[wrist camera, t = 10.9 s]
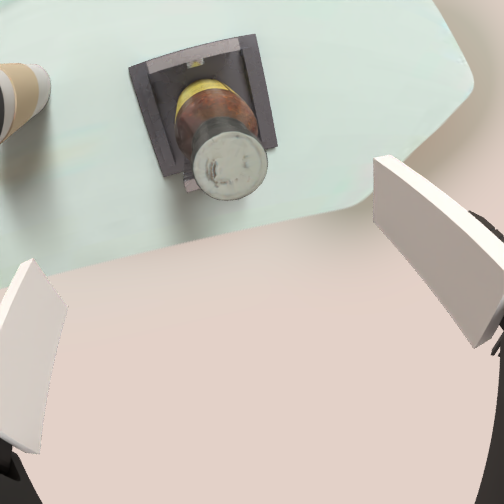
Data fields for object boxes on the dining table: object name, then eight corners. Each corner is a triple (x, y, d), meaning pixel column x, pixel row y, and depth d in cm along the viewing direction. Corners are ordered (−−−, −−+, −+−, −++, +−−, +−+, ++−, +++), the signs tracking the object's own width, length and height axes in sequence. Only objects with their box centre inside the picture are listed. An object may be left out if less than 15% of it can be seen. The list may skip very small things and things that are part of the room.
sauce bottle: (168, 117, 31) (139, 193, 15) (194, 68, 28) (191, 84, 13) (220, 140, 34) (246, 234, 18) (247, 93, 31) (305, 143, 15)
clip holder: (164, 174, 36) (159, 203, 30) (129, 67, 27) (113, 71, 21) (276, 144, 36) (295, 166, 30) (253, 34, 28) (270, 28, 21)
